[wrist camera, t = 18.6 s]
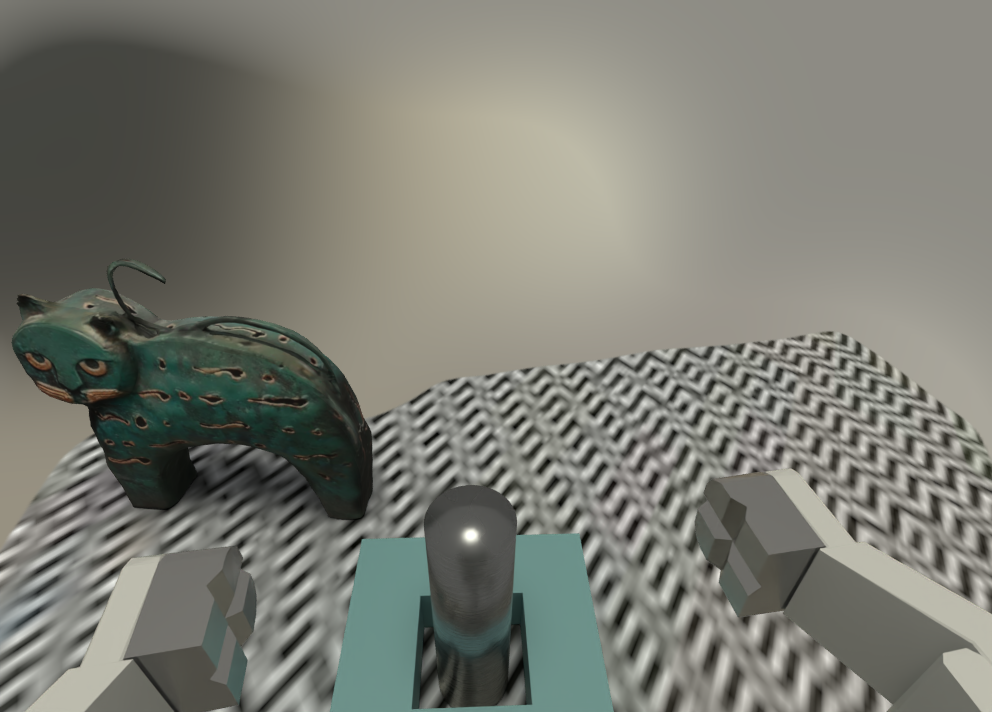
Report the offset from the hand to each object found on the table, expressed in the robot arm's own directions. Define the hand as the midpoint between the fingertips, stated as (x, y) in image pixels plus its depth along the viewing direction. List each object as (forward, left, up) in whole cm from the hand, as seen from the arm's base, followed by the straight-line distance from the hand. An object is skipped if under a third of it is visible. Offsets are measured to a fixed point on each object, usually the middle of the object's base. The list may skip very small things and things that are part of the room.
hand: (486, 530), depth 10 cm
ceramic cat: (+23, +17, -26) cm, 39 cm away
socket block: (+9, 0, -26) cm, 27 cm away
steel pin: (+9, 0, -26) cm, 27 cm away
